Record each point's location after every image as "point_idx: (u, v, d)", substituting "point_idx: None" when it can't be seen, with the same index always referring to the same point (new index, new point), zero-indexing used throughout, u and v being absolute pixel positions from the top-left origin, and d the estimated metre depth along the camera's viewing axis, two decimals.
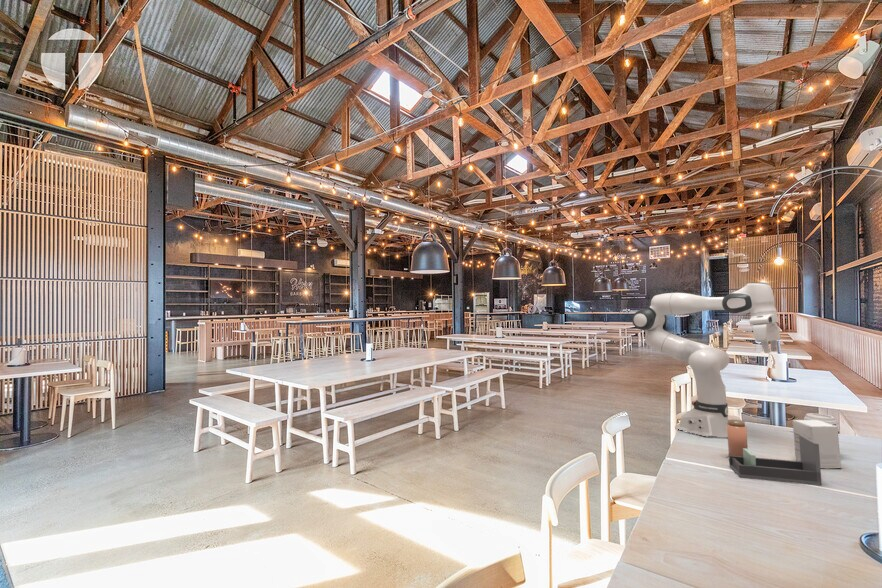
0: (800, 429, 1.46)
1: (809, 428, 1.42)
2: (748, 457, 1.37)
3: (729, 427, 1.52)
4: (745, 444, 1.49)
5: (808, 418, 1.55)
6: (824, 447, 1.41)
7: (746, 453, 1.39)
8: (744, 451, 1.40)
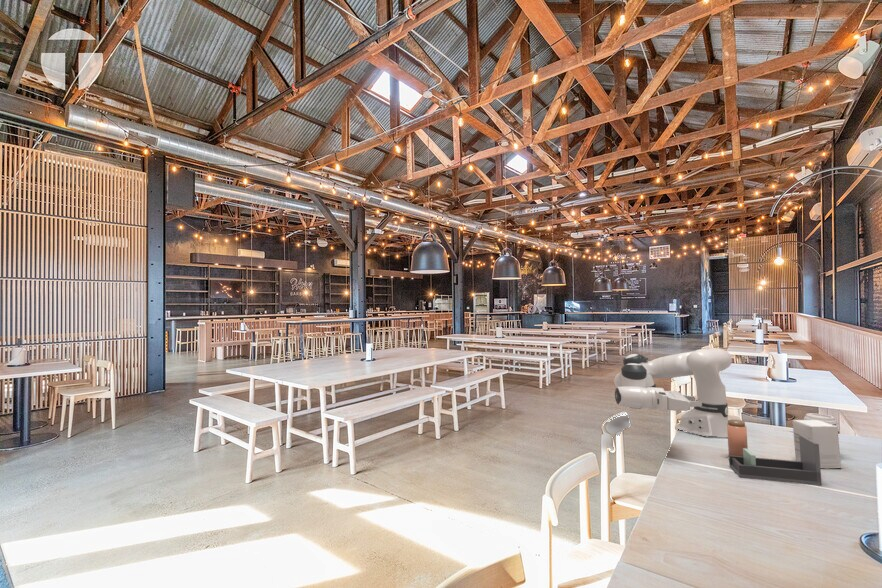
0: (800, 429, 1.46)
1: (809, 428, 1.42)
2: (748, 457, 1.37)
3: (729, 427, 1.52)
4: (745, 444, 1.49)
5: (808, 418, 1.55)
6: (824, 447, 1.41)
7: (746, 453, 1.39)
8: (744, 451, 1.40)
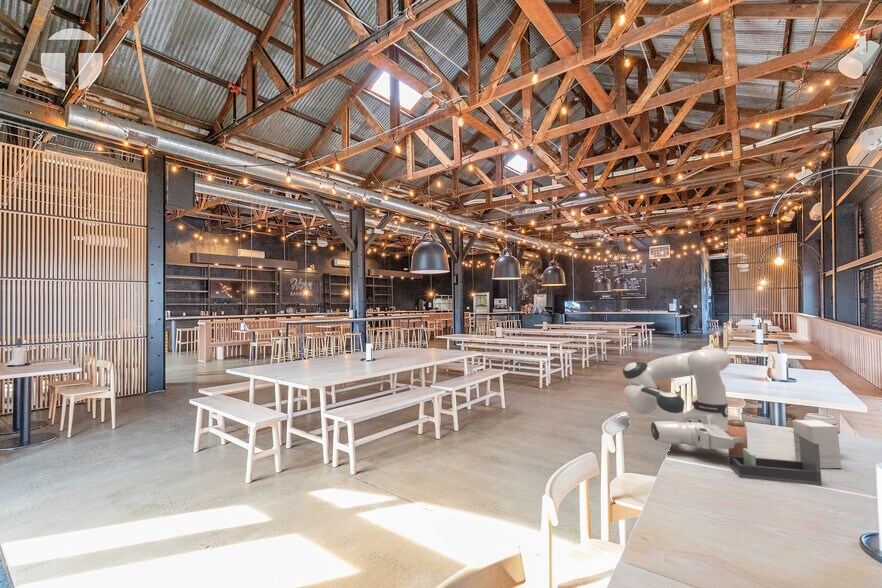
0: (801, 429, 1.46)
1: (809, 428, 1.42)
2: (748, 457, 1.37)
3: (729, 427, 1.52)
4: (745, 444, 1.49)
5: (808, 418, 1.55)
6: (824, 447, 1.41)
7: (746, 453, 1.39)
8: (744, 451, 1.40)
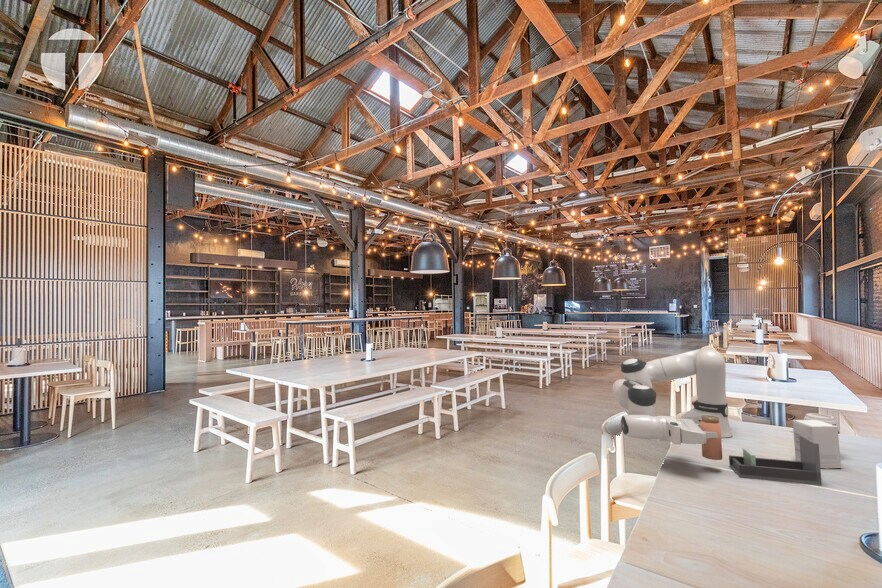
0: (800, 429, 1.46)
1: (809, 428, 1.42)
2: (748, 457, 1.37)
3: (702, 423, 1.42)
4: (719, 442, 1.39)
5: (808, 418, 1.55)
6: (824, 447, 1.41)
7: (746, 453, 1.39)
8: (744, 451, 1.40)
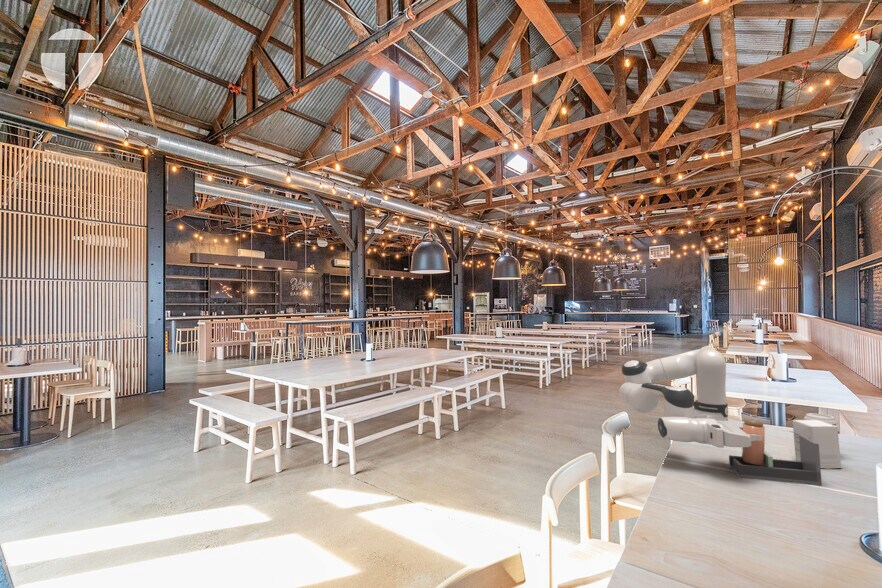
0: (800, 429, 1.46)
1: (809, 428, 1.42)
2: (765, 458, 1.35)
3: (745, 427, 1.38)
4: (762, 446, 1.35)
5: (808, 418, 1.55)
6: (824, 447, 1.41)
7: None
8: None
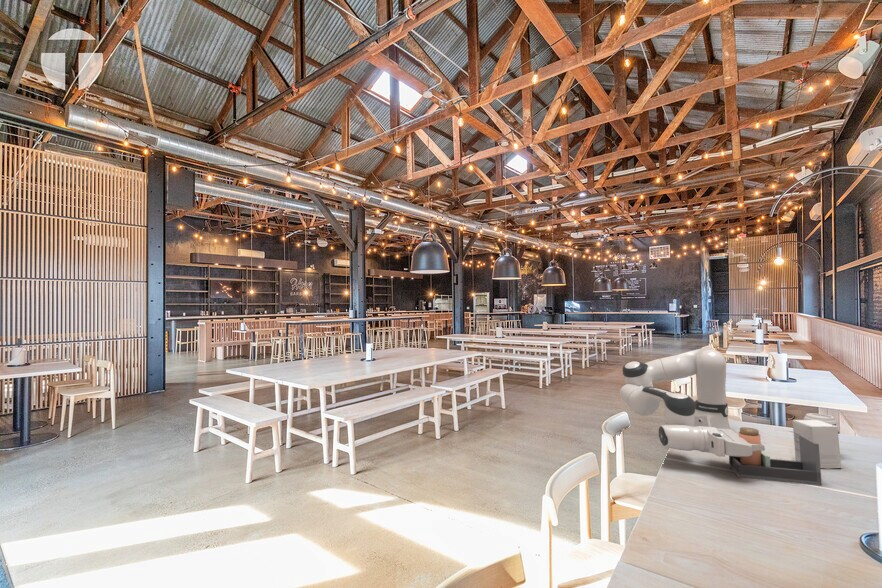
0: (800, 429, 1.46)
1: (809, 428, 1.42)
2: (763, 458, 1.35)
3: (741, 436, 1.38)
4: (759, 455, 1.35)
5: (808, 418, 1.55)
6: (824, 447, 1.41)
7: None
8: None
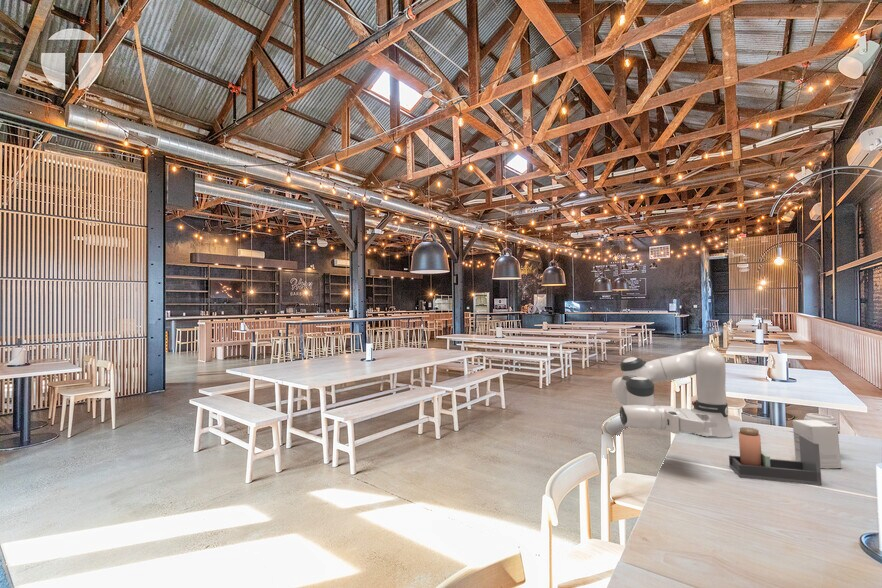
0: (800, 429, 1.46)
1: (809, 428, 1.42)
2: (763, 458, 1.35)
3: (741, 436, 1.38)
4: (759, 455, 1.35)
5: (808, 418, 1.55)
6: (824, 447, 1.41)
7: None
8: None
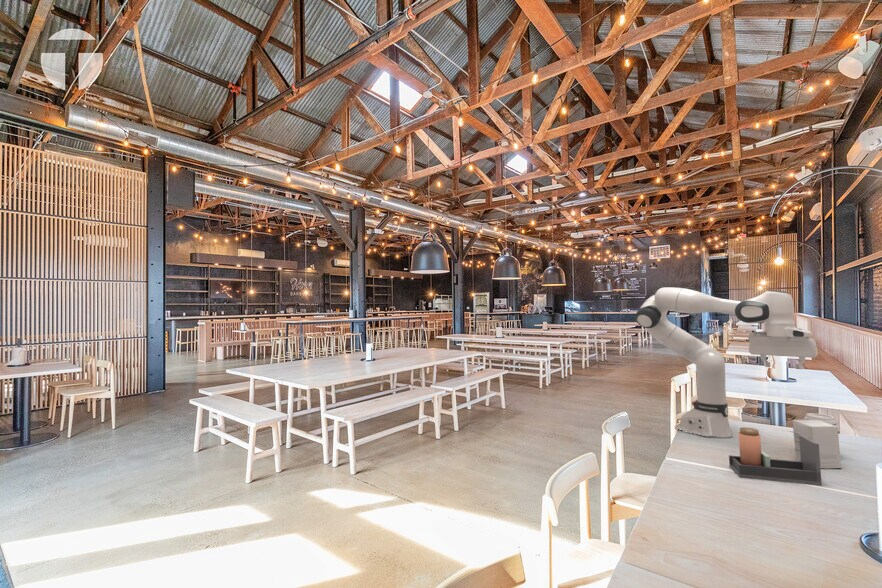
0: (800, 429, 1.46)
1: (809, 428, 1.42)
2: (763, 458, 1.35)
3: (741, 436, 1.38)
4: (759, 455, 1.35)
5: (808, 418, 1.55)
6: (824, 447, 1.41)
7: None
8: None
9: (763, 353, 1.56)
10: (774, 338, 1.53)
